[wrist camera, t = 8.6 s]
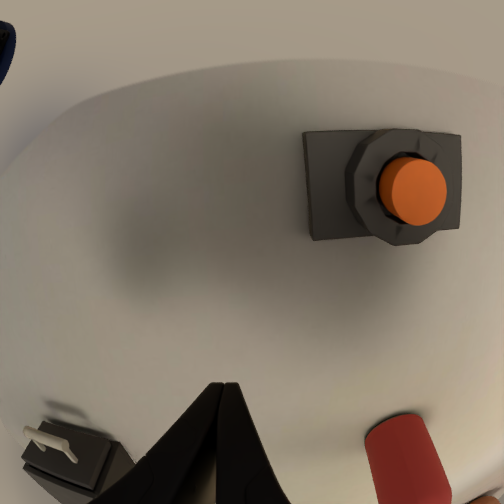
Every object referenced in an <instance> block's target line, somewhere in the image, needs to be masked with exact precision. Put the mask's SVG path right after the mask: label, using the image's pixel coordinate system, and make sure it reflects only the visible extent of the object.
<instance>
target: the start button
mask: <svg viewBox="0 0 504 504" xmlns="http://www.w3.org/2000/svg"><path fill="white" fill-rule="evenodd" d="M379 194H380V198H381V201H382V203H383V205H384V206H385V208H386V209H387V210H388V211H389V212H390V213H392V214H393V215H395V216H397V217H398V218H400V219H401V220H403V221H405V222H406V223H408V224H411V225H416V226H420V225H425V224H427V223H430V222H431V221H433V220H434V219H435V218H436V217H437V216H438V215H439V214H440V212H441V211H442V209H443V207H444V204H445V201H446V194H447V189H446V183H445V179H444V177H443V175H442V173H441V171H440V170H439V169H438V167H437V166H435V165H434V164H433V163H431V162H429V161H427V160H423V159H417V158H411V157H400V158H397V159H395V160H393V161H391V162H390V163H389V164H388V165H387V166H386V167H385V169H384V170H383V172H382V175H381V177H380V181H379Z"/></svg>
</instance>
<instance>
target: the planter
mask: <svg viewBox="0 0 504 504" xmlns="http://www.w3.org/2000/svg"><path fill="white" fill-rule="evenodd" d="M468 504H501V503H500V502H499V501H498V499H496V498H495V497H492V496H483V497H480V498H478V499H476V500H474V501H472V502H470V503H468Z"/></svg>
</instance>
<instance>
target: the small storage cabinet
mask: <svg viewBox="0 0 504 504" xmlns="http://www.w3.org/2000/svg"><path fill="white" fill-rule="evenodd" d="M109 442H110V443H111V447H110V450H109V452H110V453H109V456H108V458H107V460H106V463H105V465H104V468H103V470H102V473H101V475H100V478H99V480H98V483H97V485H96V488H95V490H94V492H90V491H88V490H85V489H82V488H79V487H76V486H74V485H71V484H68V483H66V482H63V481H61V480H58V479H56V478H53V477H51V476H49V475H47V474H44V473H42V472H40V471H38V470H36V469H37V468H36V467H34V466H32V465H30V464H28V463H25V465H24V467H23V469H24V470H25V471H26V472H27V473H28V474H29V475H30V476H31V477H32V478H33V479H34V480H35V481H36V482H37V483H38V484H39V485H40V486H41V487H43V488H44V489H45V490H46V491H47V492H48V493H49V494H51V495H52V496H53V497H54V498H55V499H57V500H58V501H59V502H60V503H62V504H87V503H88V502H90V501H91V500H93V499H94V498H95V497H97V496H98V495H99V494H101V493H102V492H103V491H105V490H106V489H107V488H109V487H110V486H111V485H113V484H114V483H115V482H116V481H118V480H119V479H120V478H121V477H122V476H124V475H125V474H126V473H127V472H128V471H129V470H130V469H131V468H132V467H133V466H134V465H135V464H134V462H133V461H132V459H131V458H130V457H129V455H128V454H127V452H126V451H125V449H124V448H123V446H122V445H121V443H120V442H115V441H110V440H109Z"/></svg>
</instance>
